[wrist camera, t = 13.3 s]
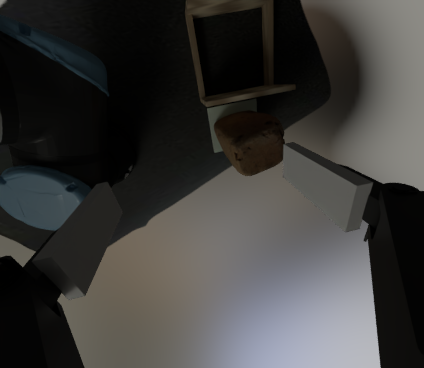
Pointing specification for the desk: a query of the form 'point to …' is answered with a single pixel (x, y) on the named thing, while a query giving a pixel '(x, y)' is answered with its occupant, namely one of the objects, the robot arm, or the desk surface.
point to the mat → (223, 111)
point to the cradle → (225, 3)
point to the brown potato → (251, 140)
